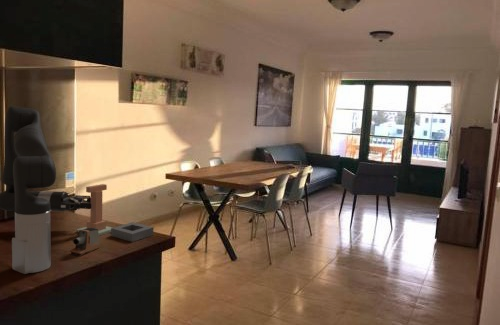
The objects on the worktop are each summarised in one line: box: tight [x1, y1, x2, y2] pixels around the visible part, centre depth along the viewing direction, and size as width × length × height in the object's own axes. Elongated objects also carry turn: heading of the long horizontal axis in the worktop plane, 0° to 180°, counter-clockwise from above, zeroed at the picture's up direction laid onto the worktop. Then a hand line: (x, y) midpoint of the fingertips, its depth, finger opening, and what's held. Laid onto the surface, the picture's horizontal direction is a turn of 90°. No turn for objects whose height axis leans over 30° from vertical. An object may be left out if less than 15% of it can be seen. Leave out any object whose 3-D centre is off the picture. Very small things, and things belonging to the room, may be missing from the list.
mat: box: [76, 225, 113, 237], centre depth 160 cm, size 10×10×1 cm
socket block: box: [110, 221, 154, 243], centre depth 157 cm, size 11×11×3 cm
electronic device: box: [69, 228, 101, 257], centre depth 138 cm, size 4×10×8 cm, turn 162°
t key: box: [85, 183, 108, 231], centre depth 158 cm, size 8×5×17 cm, turn 152°
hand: (95, 203), depth 158 cm, fingers open, 8 cm apart
